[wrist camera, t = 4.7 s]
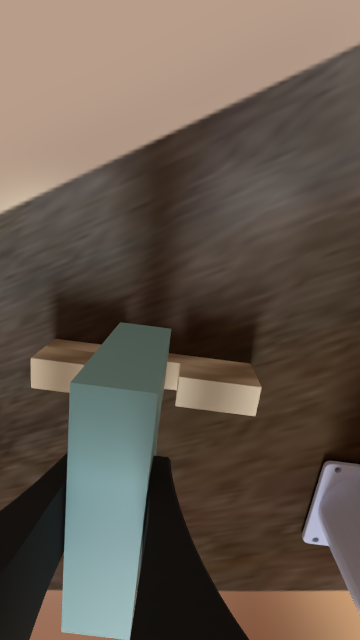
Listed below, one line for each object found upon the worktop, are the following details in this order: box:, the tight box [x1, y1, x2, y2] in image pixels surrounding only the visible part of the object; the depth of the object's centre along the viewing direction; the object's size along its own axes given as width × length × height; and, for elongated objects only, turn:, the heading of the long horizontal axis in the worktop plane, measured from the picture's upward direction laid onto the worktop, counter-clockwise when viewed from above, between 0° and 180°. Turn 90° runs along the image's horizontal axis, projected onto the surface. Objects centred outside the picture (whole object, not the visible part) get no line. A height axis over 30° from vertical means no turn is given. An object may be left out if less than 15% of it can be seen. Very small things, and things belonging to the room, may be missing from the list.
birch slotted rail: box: [31, 339, 262, 416], centre depth 21 cm, size 14×2×4 cm, turn 83°
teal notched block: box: [61, 322, 171, 640], centre depth 13 cm, size 2×10×6 cm, turn 173°
